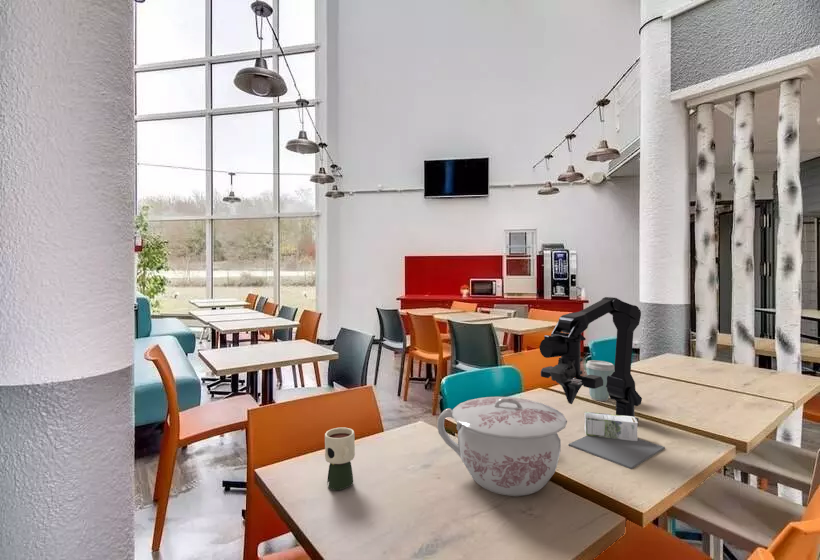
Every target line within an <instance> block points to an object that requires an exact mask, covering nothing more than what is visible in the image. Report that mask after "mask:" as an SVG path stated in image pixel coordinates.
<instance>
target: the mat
mask: <svg viewBox="0 0 820 560" xmlns="http://www.w3.org/2000/svg"><path fill="white" fill-rule="evenodd" d="M637 440H638V441H629V440H621V439H613V438H605V437H596V436H588V435H584V436H583V437H581V438H579V439H576V440H575V441H572V442H569V444H568V446H569V447H571V448H574V449H577V450H580V451H583V452H585V453H588V454H590V455H592V456H596V457H599V458H601V459H604V460H606V461H609V462H612V463H614V464H617V465H619V466H622V467H625V468H628V469H631V470H633V469H634V468H635V467H637V466H639V465H641V464H642V463H643V462H645V461H646V460H649V459H650V458H652V457H653V456H655V455H657V454H658V453H660V452H662V451H663V450H665V449H666V447H665V446H663V445H660V444H658V443H654V442H651V441H648V440H644V439H641V438H638V437H637Z"/></svg>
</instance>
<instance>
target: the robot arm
mask: <svg viewBox="0 0 820 560" xmlns="http://www.w3.org/2000/svg"><path fill="white" fill-rule="evenodd" d="M607 314H610V315H611V316H612V323H613V324H614V327H615V328H616V342H615V343H616V344H615V355H614V366H615V368H614V372H613V373H612V375H611V376H607V385H606V387H607V391H608V393H609V399H610V400H613V401H615V415H623V416H633V417H635V407H639V406H640V405H641V404H642V399H643V398H642V396H641V395H640V394H639V393H638V391H636V381H635V380H634V378H633V376H632V374H631V371H632V357H633V356H632V355H633V344H634V343H633V342H634V331H635V330H636V328H638V326H639V325H640V321H641V316H642V311H641V309H640V308H639V307H638V306H637V305H634V304H630V303H628V302H626V301H623V300H621V299H619V298H617V297H611V296H608V297H607V296H604V297H603V298H601V299H600V300H598V301H597V302H595V303H593V304H590V305H589V306H588V307H585V308H584V309H582V310H580V311H575V312H569V313H567V314H566V313H565V314H563V315H560V316H559V318H558V321H557V323H556V325H555V327H554V328H553V330H552V332H551V334H549V335H546V334H544V337H543V338H544V339H542V340H541V342H540V344H539V348H538V349H539V352H540V354H541V355H542V357H543V358H545V359H548V358H558V359H557V364H555V365H554V366H552V365H549V366H544V367H542V368H541V370H540V377H541V378H544V379H545V378H546V379H549V378H551V381H554V382H556V383H557V384H559V385H560V386H561V387H562V389H563V392H564V395H565V397H566V400H567V403H568V404H571V405H572V404H573V403H574V402H575V399H576V397H577V394H578V393H579V391H580V389H581V388H582V386H583V387H584V388H588V389H589V388H592V389H595V388H598V387H601V386H603V379H602V377H601V376H596V375H591V374H590V375H583V370H581V362H583V359H584V358H583V357H581V341H582V342H583V341H586V340H587V339H586V337H584V336H583V334H582V333H584V332H585V331H586V330H587V329H588V328H589V325H590V324H591V323H592V322H595V321H596V320H598V319H600V318H602V317H603V316H606V315H607ZM635 418H636V420H637V421H639V420H640V419H639V417H635Z"/></svg>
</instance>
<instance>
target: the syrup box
mask: <svg viewBox="0 0 820 560" xmlns="http://www.w3.org/2000/svg"><path fill="white" fill-rule="evenodd" d="M636 418H637V417H636ZM636 418H635V416H634V417H633V416H623V415H616V414H611V413H600V412H599V413H598V412H594V411H593V412H590V411H584V434H585V436H587V435H588V436H596V437H605V438H613V439H621V440H629V441H638V440H637V438H638V423H639V422H638V420H636Z"/></svg>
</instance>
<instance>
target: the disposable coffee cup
mask: <svg viewBox="0 0 820 560" xmlns="http://www.w3.org/2000/svg"><path fill="white" fill-rule="evenodd" d="M585 367H586V374H587V375H590V374H591V375H596V376H601V377H602V379H603V386H601V387H598V388H595V389H592V388H588V389H589V396H590V398H591V399H592V400H594V401H599V402H606V401H608V399H610V396H609V393H608V391H607V387H606V385H607V376H611V375H612V373H613V372H614V368H615V364H614V363H612V362H609V361H605V360H594V359H593V360H587V361H586V363H585ZM587 375H586V376H587Z"/></svg>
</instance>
